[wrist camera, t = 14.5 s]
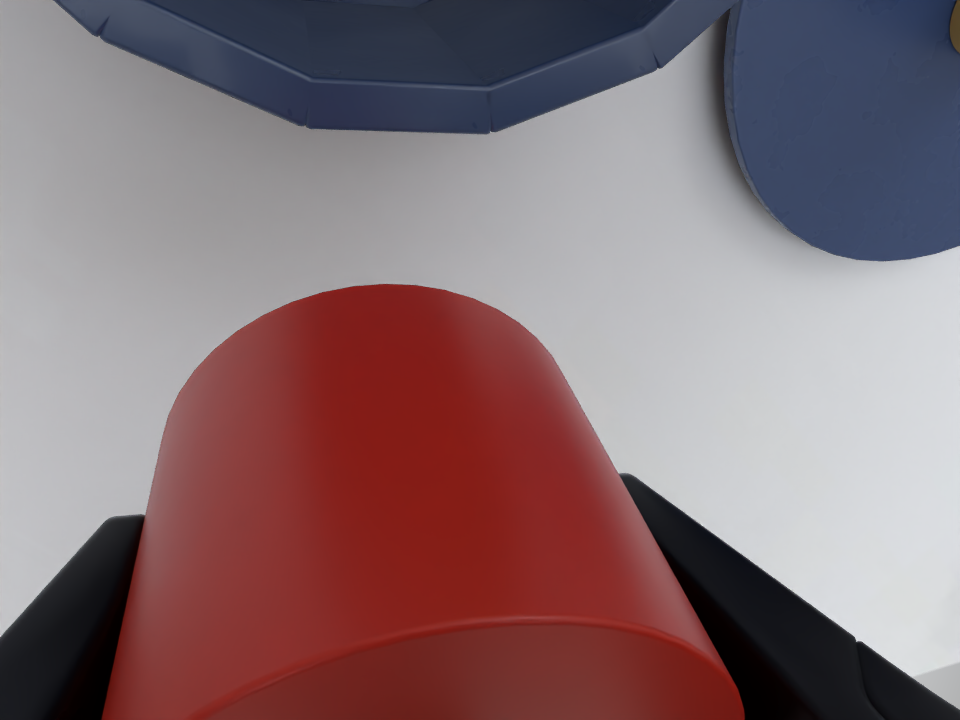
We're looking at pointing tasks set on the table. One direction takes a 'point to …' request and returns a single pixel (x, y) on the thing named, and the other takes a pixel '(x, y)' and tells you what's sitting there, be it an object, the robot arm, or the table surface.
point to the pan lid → (850, 120)
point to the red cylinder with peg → (399, 535)
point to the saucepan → (403, 54)
